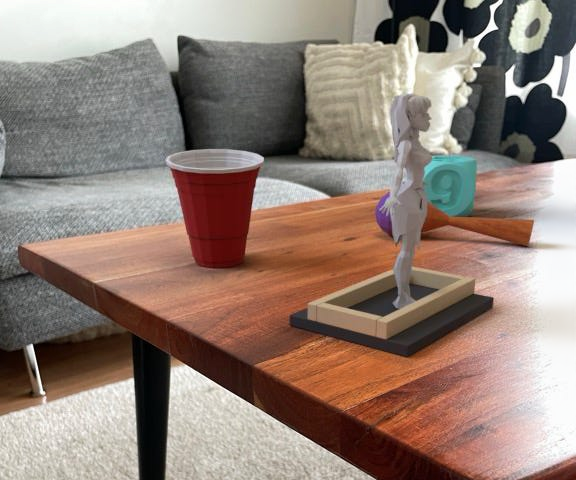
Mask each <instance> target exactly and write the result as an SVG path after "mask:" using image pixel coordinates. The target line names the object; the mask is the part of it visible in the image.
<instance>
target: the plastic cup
mask: <svg viewBox="0 0 576 480" xmlns="http://www.w3.org/2000/svg"><path fill="white" fill-rule="evenodd" d="M264 161H265V158H264V157H263V156H262V155H260V154H258V153H257V152H256V153H255V152H252V151H246V150H239V149H229V148H227V149H226V148H218V149H217V148H206V149H191V150H186V151H180V152H176V153H173V154H170V155H168V156H167V157H166V158H165V161H164V162H165V164H166V165H167V166H168V168H169V169H170V172H171V175H172V178H173V180H174V185H175V188H176V190H177V196H178V199H179V204H180V209H181V213H182V217H183V222H184V224H185V225H184V226H185V230H186V235H188V240H189V245H190V250H191V255H192V258H193V259H194V260H193V261H194V263H195V264H196V265H197V266H201V267H203V268H230V267H236V266H239V265H241V264H243V263H244V259H245V256H246V248H247V241H248V235H249V231H250V224H251V217H252V208H253V201H254V194H255V188H256V185H257V179H258V178H259V172H260V170H261V167H263V166H264Z"/></svg>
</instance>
